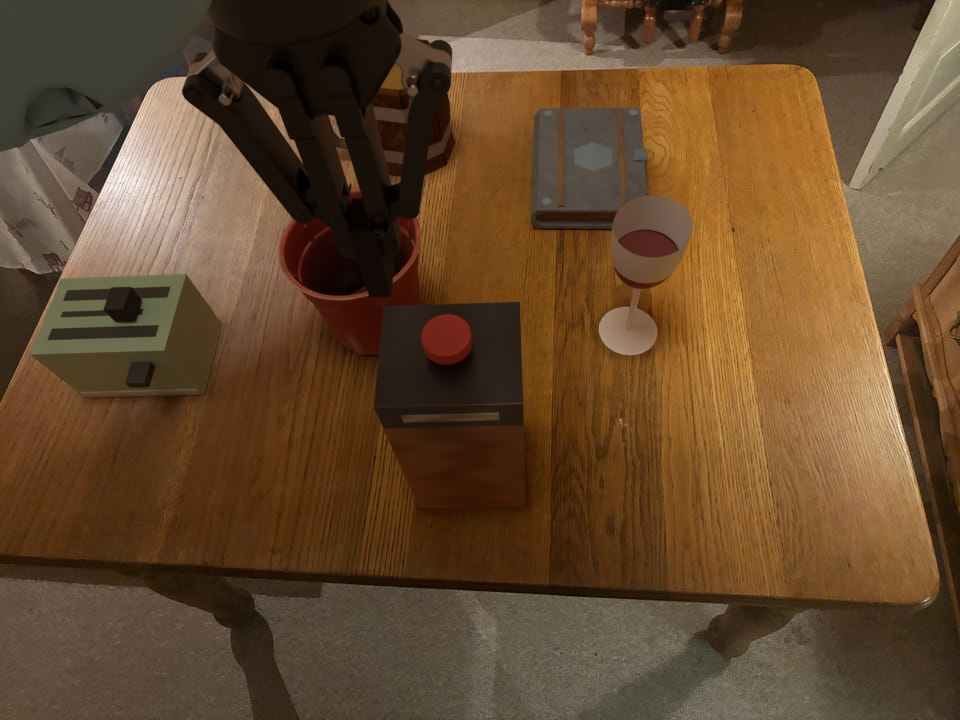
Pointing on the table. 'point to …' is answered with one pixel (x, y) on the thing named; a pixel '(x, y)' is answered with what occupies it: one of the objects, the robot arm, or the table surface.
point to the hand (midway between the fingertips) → (382, 280)
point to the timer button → (446, 339)
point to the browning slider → (122, 304)
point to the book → (586, 166)
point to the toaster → (129, 338)
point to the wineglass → (643, 265)
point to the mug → (393, 124)
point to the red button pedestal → (455, 407)
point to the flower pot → (348, 280)
